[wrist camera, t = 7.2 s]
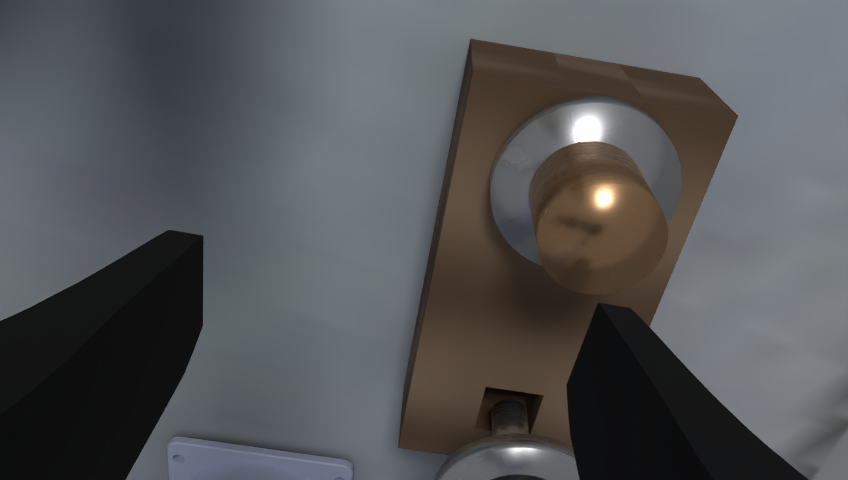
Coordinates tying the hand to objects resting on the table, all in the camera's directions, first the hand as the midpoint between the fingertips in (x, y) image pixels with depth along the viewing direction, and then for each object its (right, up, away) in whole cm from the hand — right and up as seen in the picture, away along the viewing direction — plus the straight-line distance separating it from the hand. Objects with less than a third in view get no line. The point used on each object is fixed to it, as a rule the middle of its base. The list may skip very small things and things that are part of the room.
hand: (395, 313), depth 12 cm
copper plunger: (+5, +5, +9) cm, 11 cm away
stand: (+4, +1, +11) cm, 12 cm away
